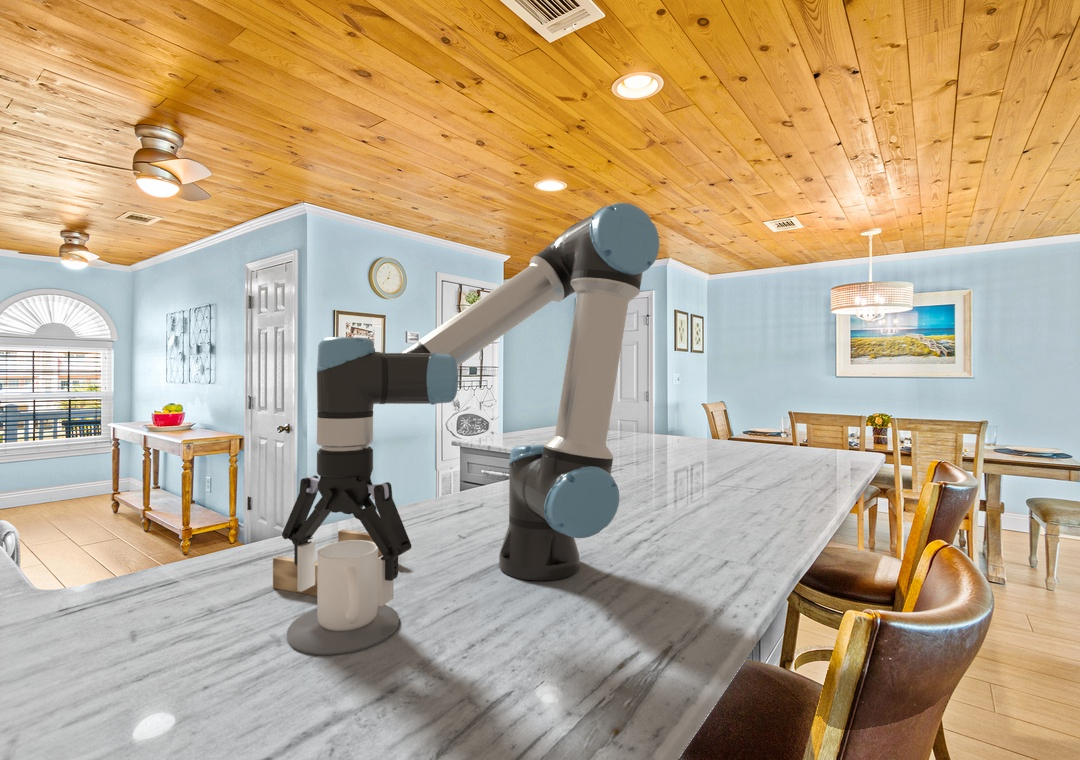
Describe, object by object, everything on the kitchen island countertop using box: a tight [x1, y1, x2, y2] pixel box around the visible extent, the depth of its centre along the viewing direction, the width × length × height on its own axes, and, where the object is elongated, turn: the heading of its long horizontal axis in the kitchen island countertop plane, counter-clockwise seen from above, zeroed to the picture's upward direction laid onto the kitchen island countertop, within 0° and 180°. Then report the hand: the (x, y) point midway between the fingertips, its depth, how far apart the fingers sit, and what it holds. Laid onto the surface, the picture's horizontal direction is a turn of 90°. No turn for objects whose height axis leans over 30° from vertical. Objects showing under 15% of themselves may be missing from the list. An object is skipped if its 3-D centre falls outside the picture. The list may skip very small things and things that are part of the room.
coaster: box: [286, 604, 400, 656], centre depth 79 cm, size 15×15×1 cm
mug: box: [316, 540, 378, 631], centre depth 78 cm, size 12×8×10 cm
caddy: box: [272, 529, 383, 597], centre depth 98 cm, size 13×17×5 cm
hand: (344, 595), depth 78 cm, fingers open, 13 cm apart
